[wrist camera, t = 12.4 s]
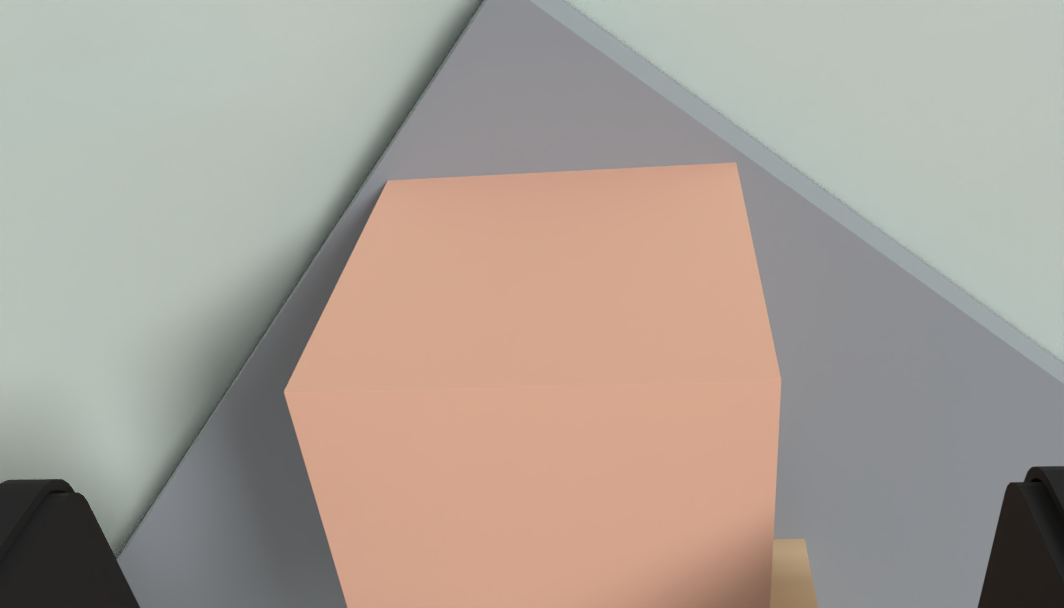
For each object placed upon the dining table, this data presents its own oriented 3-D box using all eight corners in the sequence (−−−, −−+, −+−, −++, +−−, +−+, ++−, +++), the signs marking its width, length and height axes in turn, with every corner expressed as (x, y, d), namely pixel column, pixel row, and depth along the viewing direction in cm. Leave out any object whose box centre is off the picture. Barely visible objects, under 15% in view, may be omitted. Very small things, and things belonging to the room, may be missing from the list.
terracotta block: (736, 162, 14) (782, 380, 9) (732, 437, 16) (765, 703, 12) (387, 180, 14) (284, 392, 10) (438, 442, 17) (373, 695, 13)
